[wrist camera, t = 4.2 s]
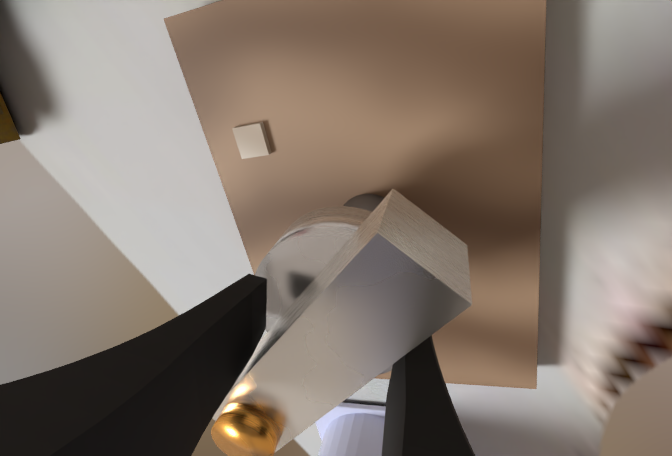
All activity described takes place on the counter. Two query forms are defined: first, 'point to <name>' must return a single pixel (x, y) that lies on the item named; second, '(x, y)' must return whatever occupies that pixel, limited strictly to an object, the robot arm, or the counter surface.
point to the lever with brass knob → (340, 315)
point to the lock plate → (388, 138)
